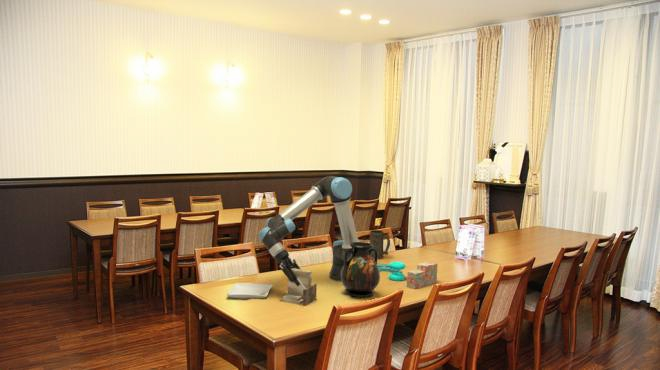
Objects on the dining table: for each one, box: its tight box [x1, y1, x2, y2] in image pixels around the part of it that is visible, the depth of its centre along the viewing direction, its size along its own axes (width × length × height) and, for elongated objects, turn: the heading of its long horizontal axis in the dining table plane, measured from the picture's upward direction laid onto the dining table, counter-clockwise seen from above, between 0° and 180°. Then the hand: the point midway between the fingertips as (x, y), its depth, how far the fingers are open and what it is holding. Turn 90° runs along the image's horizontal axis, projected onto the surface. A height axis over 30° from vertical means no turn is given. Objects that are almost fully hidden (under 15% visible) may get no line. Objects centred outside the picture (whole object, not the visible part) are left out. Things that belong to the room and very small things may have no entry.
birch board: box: [287, 268, 313, 297], centre depth 256 cm, size 4×12×15 cm, turn 64°
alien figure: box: [377, 263, 403, 274], centre depth 324 cm, size 20×2×20 cm
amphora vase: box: [340, 241, 381, 299], centre depth 269 cm, size 22×22×28 cm
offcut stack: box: [282, 293, 303, 306], centre depth 251 cm, size 4×10×3 cm, turn 64°
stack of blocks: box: [406, 261, 438, 290], centre depth 292 cm, size 21×6×12 cm, turn 133°
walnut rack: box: [279, 283, 318, 307], centre depth 254 cm, size 12×15×9 cm
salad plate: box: [226, 282, 274, 300], centre depth 264 cm, size 21×21×3 cm
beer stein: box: [369, 229, 391, 260], centre depth 358 cm, size 15×11×20 cm
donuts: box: [388, 261, 406, 282], centre depth 303 cm, size 10×10×10 cm
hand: (305, 288), depth 254 cm, fingers open, 4 cm apart
